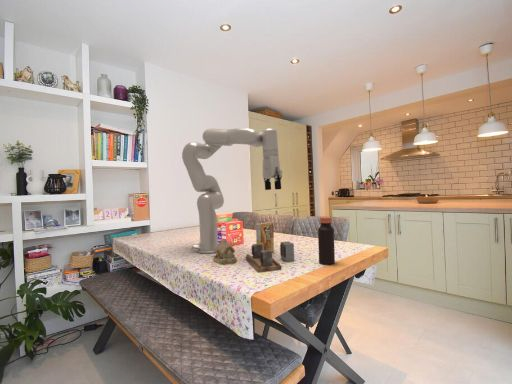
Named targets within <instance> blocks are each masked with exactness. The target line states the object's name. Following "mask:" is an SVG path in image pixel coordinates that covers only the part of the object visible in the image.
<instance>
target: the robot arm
mask: <svg viewBox="0 0 512 384" xmlns="http://www.w3.org/2000/svg"><path fill="white" fill-rule="evenodd" d="M202 140H203V142H204V143H200V142H196V141H195V142H194V141H191V142H188V143H187V144H185V145H184V147H183V149H182V152H181V153H182V154H181V156H182V158H181V159H182V161H183V165H184V167H185V169H186V171H187V174H188V177H189V179H190V182H191V184H192V187H193V188H194V191H196V192H198V193H202V194H200V195H199V196H198V198H197V199H196V200H197V201H196V205H197V206H196V207H197V211H198V218H199V219H198V220H199V243H197V244H192V245H191V249H195V250H197V252H198V253H199V254H216V251H215V249H216V247H217V245H218V244H219V242H218V241H219V238H218V236H219V235H218V234H219V233H218V216H217V213H216V210H219V209H221V208H222V207H223V206H224V203H225V202H224V201H225V199H224V195H223V193H222V190H221V187H220V185H219V183H218V181H217V178H215V177H214V176H212V175H211V174H208V175H207V174H206V173H205V170H204V168H203V165H202V163H201V162H200V161H199V160H198V159H200V160H207V159H209V158H210V157H212V156H213V155H214V154H215V153H217V152H218V151H219V150H220V149H221V147H223V146H224V147H225V146H226V147H230V146H233V145H248V146H252V147H255V148H259V147H260V148H261V147H262V158H263V159H262V177H263V181H264V190H265V191H270V190H272V183H271V182H272V181H271V179H273V178H274V182H273V183H274V189H275V190H281V189H282V177H283V175H282V174H283V170H281V166H280V160H279V159H280V158H279V143H278V133H277V130H276V129H275V128H265V129H263V130H262V131H259V130H255V129H252V128H240V127H239V128H208V129H206V130H204V131H203V133H202Z"/></svg>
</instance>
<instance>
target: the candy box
mask: <svg viewBox="0 0 512 384" xmlns="http://www.w3.org/2000/svg"><path fill="white" fill-rule="evenodd" d="M255 232H256V233H255V236H256V237H255V238H256V239H255V240H256V241H255V242H256V243H255V244H262V245H263V250H271V251H272V253H274V252H275V242H274V241H275V240H274V238H275V237H274V235H275V233H274V222H271V221H269V222H260V223H256V224H255Z"/></svg>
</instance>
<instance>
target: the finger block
mask: <svg viewBox="0 0 512 384" xmlns="http://www.w3.org/2000/svg"><path fill="white" fill-rule="evenodd" d="M294 247H295V245H294V242H293V243H292V242H291V241H280V245H279V250H280V252H279V253H280V259H281V260H282V261H284V262H285V263H290V262H291V263H292V262H295V249H294Z"/></svg>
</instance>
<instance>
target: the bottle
mask: <svg viewBox="0 0 512 384" xmlns="http://www.w3.org/2000/svg"><path fill="white" fill-rule="evenodd" d="M319 224H320V226H319V227H318V229H317V239H318V245H317V246H318V262H319V264H321V265H325V266H326V265H327V266H331V265H334V264H335V263H336V262H335V261H336V260H335V259H336V257H335V256H336V255H335V254H336V253H335V229H334V228H333V226H332V217H331V216H320V217H319Z"/></svg>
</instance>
